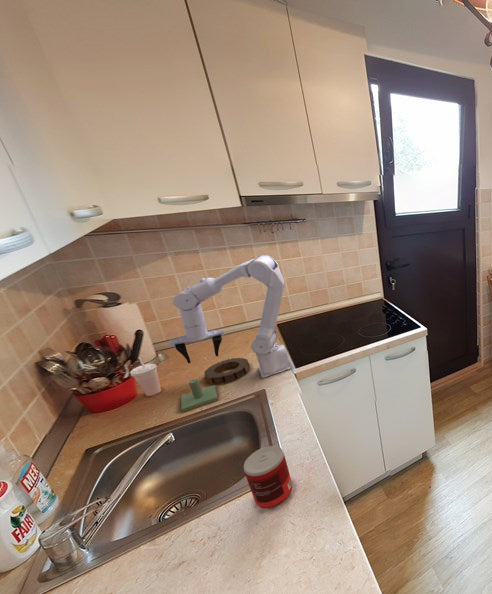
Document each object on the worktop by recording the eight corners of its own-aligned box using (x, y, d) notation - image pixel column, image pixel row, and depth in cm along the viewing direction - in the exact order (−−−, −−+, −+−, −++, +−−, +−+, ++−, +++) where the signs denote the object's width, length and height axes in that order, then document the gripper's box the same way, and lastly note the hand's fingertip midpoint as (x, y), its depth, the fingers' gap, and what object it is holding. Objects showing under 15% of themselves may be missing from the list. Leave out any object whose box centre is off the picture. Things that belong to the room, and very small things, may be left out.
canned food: (281, 474, 82) (271, 440, 78) (300, 489, 78) (290, 454, 74) (248, 499, 76) (235, 463, 72) (267, 516, 72) (255, 479, 68)
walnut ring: (247, 360, 132) (245, 354, 131) (252, 374, 123) (250, 368, 122) (205, 372, 124) (203, 366, 123) (208, 388, 115) (205, 382, 114)
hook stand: (215, 387, 116) (209, 370, 113) (217, 400, 109) (211, 382, 107) (182, 398, 110) (175, 380, 108) (182, 412, 104) (174, 393, 101)
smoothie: (150, 399, 110) (134, 363, 105) (135, 397, 111) (119, 361, 106) (171, 388, 115) (156, 353, 110) (156, 385, 117) (141, 351, 112)
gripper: (219, 315, 120) (226, 348, 124) (165, 325, 110) (175, 360, 115) (222, 321, 115) (229, 355, 120) (166, 332, 105) (176, 369, 110)
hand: (203, 358), depth 117 cm, fingers open, 7 cm apart
